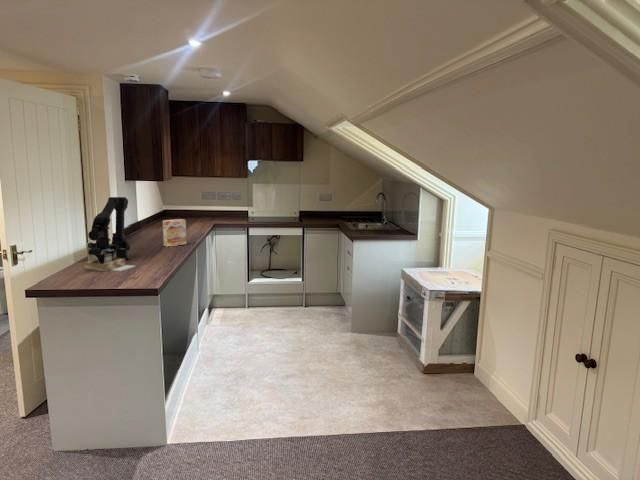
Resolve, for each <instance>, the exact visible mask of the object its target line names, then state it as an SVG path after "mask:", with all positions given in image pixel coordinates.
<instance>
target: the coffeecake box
mask: <svg viewBox="0 0 640 480" xmlns="http://www.w3.org/2000/svg"><path fill="white" fill-rule="evenodd" d="M186 221H187V220H186V219H182V218H177V219H165V220H162V233H163V234H162V235H163V247H164V246H167V247H168V246H177V245H183V244H187V245H188V243H187V225H186V224H187V223H186ZM167 247H166V248H167Z"/></svg>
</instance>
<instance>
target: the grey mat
mask: <svg viewBox="0 0 640 480" xmlns="http://www.w3.org/2000/svg"><path fill="white" fill-rule="evenodd" d="M134 268H136V265H129V264H126V265H125V266H121V267H118V268H115V269H112V270H111V271H112V272H124V271H126V270H130V269H134Z"/></svg>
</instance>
